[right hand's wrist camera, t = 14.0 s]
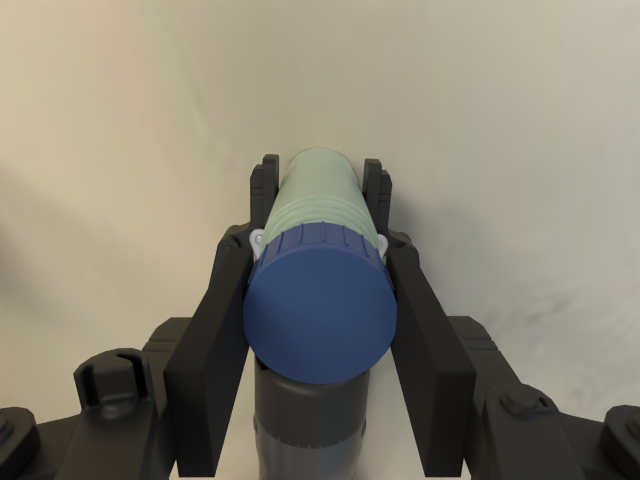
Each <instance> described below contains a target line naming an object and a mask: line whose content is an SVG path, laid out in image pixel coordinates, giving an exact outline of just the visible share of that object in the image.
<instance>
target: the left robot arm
mask: <svg viewBox="0 0 640 480" xmlns="http://www.w3.org/2000/svg"><path fill="white" fill-rule="evenodd" d="M391 191H392V182H391V179H390V175H389V174H388V173H387V171H386V170H382V165H381V162H380V161H379V160H378V159H365V164H364V176H363V188H362V195H363V198H364V200H365V203H366V206H367V208H368V211H369V213H370V216H371V219H372V221H373V224H374V226H375V229H376V232H377V235H378V238H379V243H380V257H381V259H382V258H383V256H386V254H387V248H410V250H411V252H412V254H413V255H414V257H415V259H416V261H417V263H418V265H419V266H420V262H419V254H418V251H417V250H416V248H415V247H414V246H413V244H412V242H411V239H410V238H409V236H408V235H407V234H406V233H403V232H398V233H397V232H395V231H392V230H390V229H389V228H388V218H389V209H390V200H391ZM278 192H279V155H273V154H266V155H265V156H264V158H263V163H262V165H261V164H257V166H256V167H255V168H254V170H253V172H252V175H251V177H250V211H251V221H250V222H249V223H247V224H243V225H240V226H238V225H233V226H231V227H229V228H228V230H227V231H226V233H225V234H224V236H223V237H222V239H221V241H220V242H219V244H218V247H217V251H216V256H215V260H214V265H213V269H212V274H211V278H210V283H209V286H210V284H211V282H212V281H213V279H214V277H215V275H216V273H217V271H218V270H219V268H220V266H221V264H222V262H223V260H224V259H225V257H226V255H227V253H228V251H229V249H230V248H253V251H254V254H255V256H256V259H257V260H258V259H259V257H260V242H261V237H262V234H263V231H264V229H265V226H266V223H267V221H268V218H269V216H270V213H271V210H272V208H273V205H274V203H275V200H276V197H277V195H278ZM208 288H209V287H208ZM369 375H370V368H369V369H368V370H366V371H365V372H363V373H361V374H359V375H358V376H355V377H353V378H350V379H348V380H344V381H341V382H336V383H329V384H311V383H304V382H299V381H296V380H292V379H289V378H287V377H284V376H282V375H280V374H278V373H277V372H275V371H273V370H272V369H271V368H269V367H268V366H266V365H265V364H264V363H263V362H262V361H261V360H260V359H259V358H258V357H257V355H256V354H255V413H254V417H253V424H254V430H255V439H256V448H257V453H258V458H259V480H355V470H356V464H357V460H358V457H359V454H360V450H361V445H362V439H363V436H364V433H365V427H366V418H365V413H366V403H367V393H368V384H369Z"/></svg>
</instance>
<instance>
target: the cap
mask: <svg viewBox="0 0 640 480" xmlns="http://www.w3.org/2000/svg"><path fill="white" fill-rule="evenodd" d="M247 286H248V289H247V291H246V294H245V297H244V301H243V306H242V309H243V324H244V333H245V337H246V339H247V341H248V343H249V345H250V347H251V348H252V350H253V352H254V353H255V354H256V355H257V357H258V358H259V359H260V360H261V361H262V362H263V363H264V364H265V365H266V366H268V367H269V368H271V369H272V370H273V371H275V372H277V373H278V374H280V375H282V376H284V377H287V378H289V379H292V380H296V381H299V382H304V383H311V384H329V383H336V382H341V381H344V380H348V379H350V378H353V377H355V376H358V375H359V374H361V373H363V372H365V371H366V370H368V369H369V368H371V367H372V366H373V365H374V364H375V363H377V362H378V361H379V360H380V359H381V357H382V356H383V355H384V354H385V353H386V351H387V350H388V348H389V347H390V345H391V343H392V341H393V338H394V336H395V332H396V320H397V302H396V298H395V295H394V291H395V289H394V286H393V283H392V280H391V278H390V275H389V272H388V269H387V267H386V265H385V266H384V264H383V261H382V259H381V257H380V254H379V251H378V249H377V248H376V249H375V248H374V246H373V245H372V244H371V243H370V242H369V241H368V240H367V239H366V238H365V237H364V235H363V234H362V235H360V234H359V233H357V232H356V231H354V230H352V229H350V228H348V227H346V225H343V226H342V225H339V224H334V223H327V222H324V221H322V222H312V223H306V224H303V223H300V225H298V226H295V227H292V228H290V229H288V230H286V231H284V232H283V231H281V233H280V234H279V235H278V236H277V237H275V238H274V239H273V240H272V241H271V242H270V243H269V244H266V245H265V247H264V250H263V252H262V253H261V255H260V257H259V259H258V260H256V261H255V263H254V266H253V269H252V271H251V274H250V277H249V280H248V282H247Z"/></svg>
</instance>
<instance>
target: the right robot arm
mask: <svg viewBox="0 0 640 480" xmlns="http://www.w3.org/2000/svg"><path fill="white" fill-rule="evenodd" d="M253 266H254V259H253V248H230V249H229V251H228V253H227V255H226V257H225V259H224V260H223V262H222V264H221V266H220V268H219V270H218V271H217V273H216V275H215V277H214V279H213V281H212V282H211V284H210V286H209V288H208V290H207V292H206V293H205V295H204V297H203V299H202V301H201V303H200V304H199V306H198V308H197V310H196V312H195V314H194V315H193V317H171V318H170V319H168V320H167V321H165V322H164V323H163V324H161V325H160V326H158V327H157V328H156V329H155V331H154V332H153V334H152V335H151V337H150V338H149V342H147V343H146V344H145V346H144V347H143V349H142V351H141V350H137V349H133V348H119V349H114V350H110V351H105V352H103V353H100V354H98V355H96V356H93V357H91V358H90V359H88V360H87V361H85V362H84V363H82V364H81V365H80V366H79V367H78V368H77V370H76V371H75V372H74V373H73V375H74V379H75V383H76V387H77V392H78V396H79V400H80V404H81V408H82V411H81V413H80V414H78V415H75V416H71V417H68V418H63V419H59V420H55V421H50V422H46V423H41V424H36V421H35V418H34V414H33V413H32V412H30V411H29V410H28V409H26V408H20V407H10V408H1V409H0V480H169V476H170V473H171V471H172V468H173V466H174V463H175V460H176V461H177V467H178V474H179V477H215V473H216V469H217V466H218V462H219V458H220V454H221V451H222V447H223V443H224V439H225V436H226V432H227V428H228V424H229V421H230V417H231V413H232V410H233V406H234V402H235V398H236V395H237V391H238V387H239V383H240V380H241V376H242V372H243V368H244V365H245V361H246V357H247V354H248V350H249V346H250V345H249V343H248V341H247V339H246V337H245V333H244V324H243V309H242V306H243V301H244V297H245V294H246V291H247V289H248V286H247V282H248V280H249V277H250V274H251V271H252V269H253ZM386 267H387V269H388V272H389V275H390V278H391V280H392V283H393V286H394V289H395V291H394V295H395V298H396V302H397V320H396V332H395V336H394V338H393V341H392V343H391V345H390V347H391V351H392V355H393V358H394V362H395V366H396V369H397V373H398V377H399V381H400V384H401V388H402V392H403V396H404V399H405V403H406V407H407V411H408V414H409V418H410V422H411V425H412V429H413V433H414V437H415V440H416V444H417V448H418V452H419V455H420V459H421V463H422V467H423V470H424V474H425V477H461V472H462V465H463V459H465V462H466V464H467V467H468V469H469V472H470V475H471V480H640V407H638V406H629V405H621V406H615V407H612V408H611V409H610V410H609V411H608V412H607V413H606V416H605V420H604V423H602V422H598V421H593V420H589V419H584V418H580V417H576V416H571V415H568V414H564V413H561V412H559V410H558V408H557V407H556V405H555V404H554V402H553V401H552V399H550V398H549V397H548V396H546V395H545V394H544V393H543V392H541V391H540V390H537V389H535V388H533V387H531V386H529V385H526V384H522V383H521V382H520V380H519V379H518V377H517V376H516V374H515V373H514V371H513V370H512V368H511V367H510V365H509V364H508V362H507V361H506V359H505V358H504V356H503V355H502V353H501V352H500V351H498V347H497V346H496V345H495V343H494V342H493V341H491V337H490V336H489V334H488V333H487V331H486V330H485V328H484V327H483V326H482V325H481V324H479V323H478V322H476V321H475V320H474V319H472V318H471V317H469V316H446V314H445V312H444V310H443V309H442V307H441V305H440V303H439V301H438V299H437V298H436V296H435V294H434V292H433V290H432V288H431V287H430V285H429V283H428V281H427V279H426V277H425V276H424V274H423V272H422V270H421V268H420V266H419V265H418V263H417V261H416V259H415V257H414V255H413V254H412V252H411V250H410V248H387V254H386Z"/></svg>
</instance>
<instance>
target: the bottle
mask: <svg viewBox="0 0 640 480" xmlns="http://www.w3.org/2000/svg"><path fill="white" fill-rule="evenodd" d="M322 221H324V222H327V223H334V224H339V225H342V226H343V225H346V227H348V228H350V229H352V230H354V231H356V232H357V233H359V234H360V235H362V234H363V235H364V237H365V238H366V239H367V240H368V241H369V242H370V243H371V244H372V245H373V246H374V248H375V249H376V248H377V249H378V251H379V254H380V243H379V238H378V235H377V232H376V229H375V226H374V224H373V221H372V219H371V216H370V213H369V211H368V208H367V206H366V203H365V200H364V198H363V195H362V192H361V190H360V187H359V185H358V182H357V179H356V177H355V174H354V172H353V169H352V167H351V165H350V163H349V162H348V160H347V159H346V158H345V157H344V156H343V155H342V154H340V153H339V152H337V151H335V150H333V149H330V148H325V147H315V148H310V149H307V150H305V151H303V152H301V153H300V154H298V155H297V156H296V157H295V158H294V159H293V160H292V162H291V163H290V165H289V167H288V169H287V171H286V174H285V177H284V179H283V182H282V184H281V187H280V190H279V192H278V195H277V197H276V200H275V203H274V205H273V208H272V210H271V213H270V216H269V218H268V221H267V223H266V226H265V229H264V231H263V234H262V237H261V242H260V255H261V253H262V252H263V250H264V247H265V245H266V244H269V243H270V242H271V241H272V240H273V239H274V238H275V237H277V236H278V235H279V234H280V233H281V231H283V232H284V231H286V230H288V229H290V228H292V227H295V226H298V225H300V223H303V224H306V223H312V222H322Z"/></svg>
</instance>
